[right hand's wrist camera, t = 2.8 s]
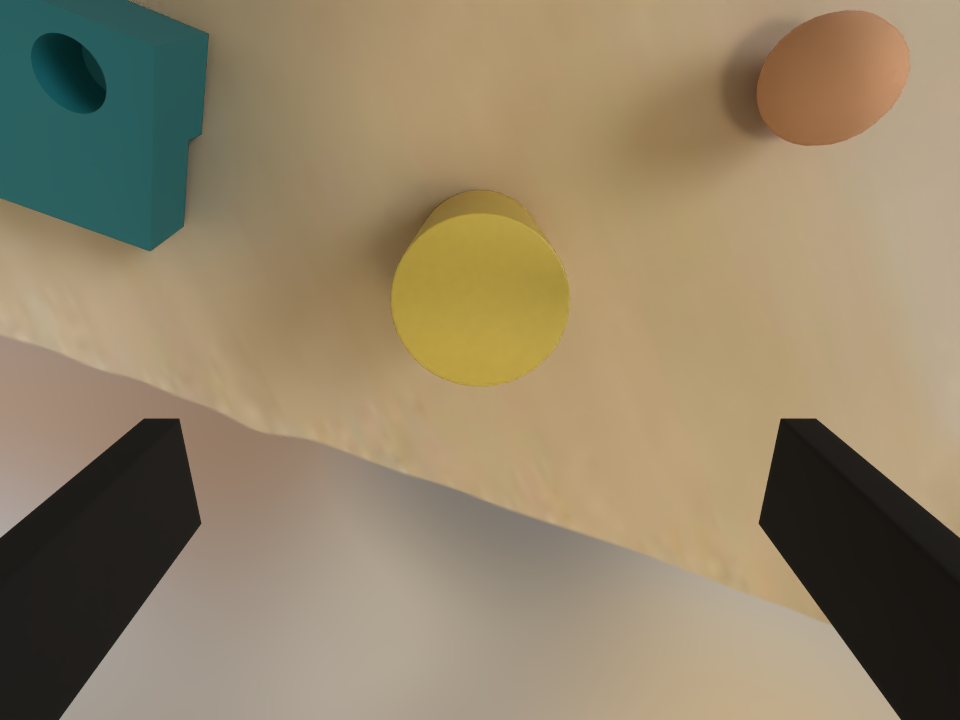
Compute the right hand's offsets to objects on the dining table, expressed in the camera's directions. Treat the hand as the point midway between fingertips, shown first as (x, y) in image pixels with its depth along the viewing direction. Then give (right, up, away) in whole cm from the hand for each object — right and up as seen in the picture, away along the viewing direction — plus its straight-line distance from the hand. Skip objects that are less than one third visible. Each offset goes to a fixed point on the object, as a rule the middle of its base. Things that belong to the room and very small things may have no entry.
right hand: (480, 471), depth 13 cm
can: (0, +9, +23) cm, 25 cm away
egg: (+17, +18, +19) cm, 31 cm away
